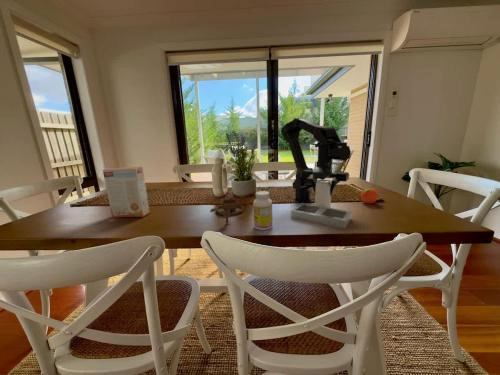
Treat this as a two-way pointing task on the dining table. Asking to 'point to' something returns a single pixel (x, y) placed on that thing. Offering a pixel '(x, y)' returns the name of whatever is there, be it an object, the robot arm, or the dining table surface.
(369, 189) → the clementine
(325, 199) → the can
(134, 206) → the cracker box
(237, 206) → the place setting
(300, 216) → the grey compartment tray
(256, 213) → the supplement bottle
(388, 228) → the dining table surface
